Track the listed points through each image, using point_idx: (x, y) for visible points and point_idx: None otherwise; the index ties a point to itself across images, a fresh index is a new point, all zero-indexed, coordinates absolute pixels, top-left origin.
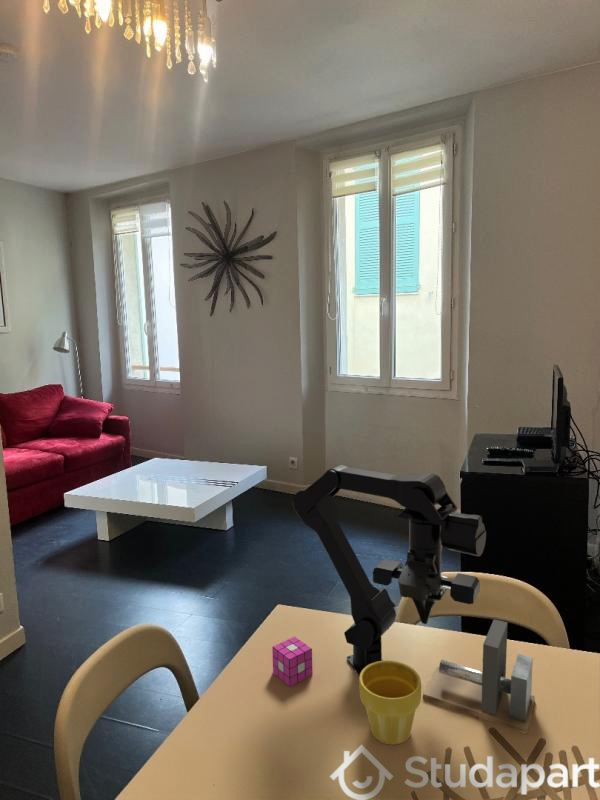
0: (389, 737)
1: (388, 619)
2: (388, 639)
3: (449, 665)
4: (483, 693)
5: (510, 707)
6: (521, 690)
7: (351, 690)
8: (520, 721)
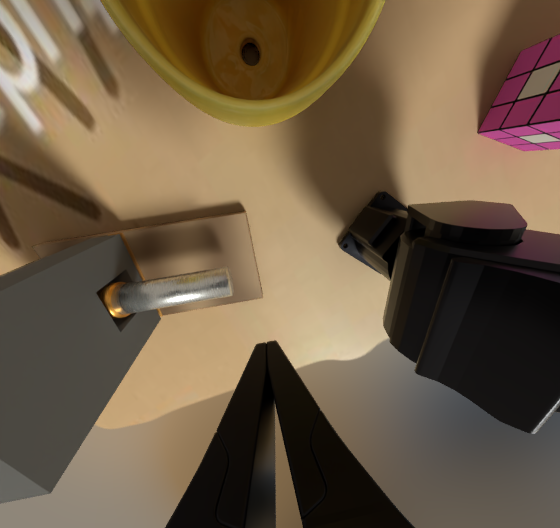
0: None
1: (411, 305)
2: (369, 315)
3: (202, 285)
4: (86, 248)
5: None
6: None
7: (381, 139)
8: None
